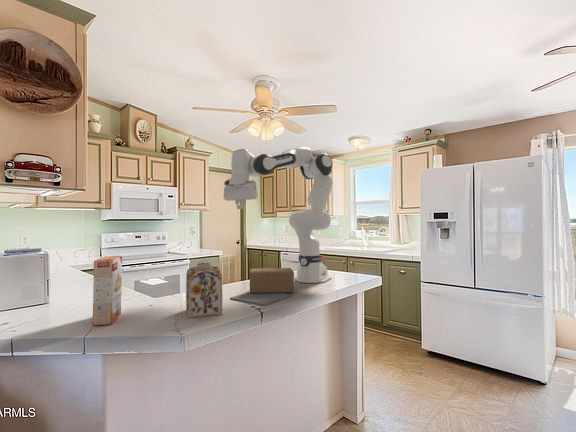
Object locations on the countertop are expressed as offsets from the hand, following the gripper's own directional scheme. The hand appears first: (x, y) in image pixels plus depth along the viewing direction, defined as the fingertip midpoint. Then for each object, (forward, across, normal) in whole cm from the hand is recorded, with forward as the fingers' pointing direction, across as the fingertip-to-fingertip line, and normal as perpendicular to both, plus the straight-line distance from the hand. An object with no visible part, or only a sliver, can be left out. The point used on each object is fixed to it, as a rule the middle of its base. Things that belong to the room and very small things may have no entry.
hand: (240, 209), depth 159 cm
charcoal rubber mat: (+39, -22, +10) cm, 46 cm away
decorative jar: (+39, -19, +39) cm, 59 cm away
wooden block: (+34, -12, +7) cm, 36 cm away
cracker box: (+39, +1, +63) cm, 74 cm away
